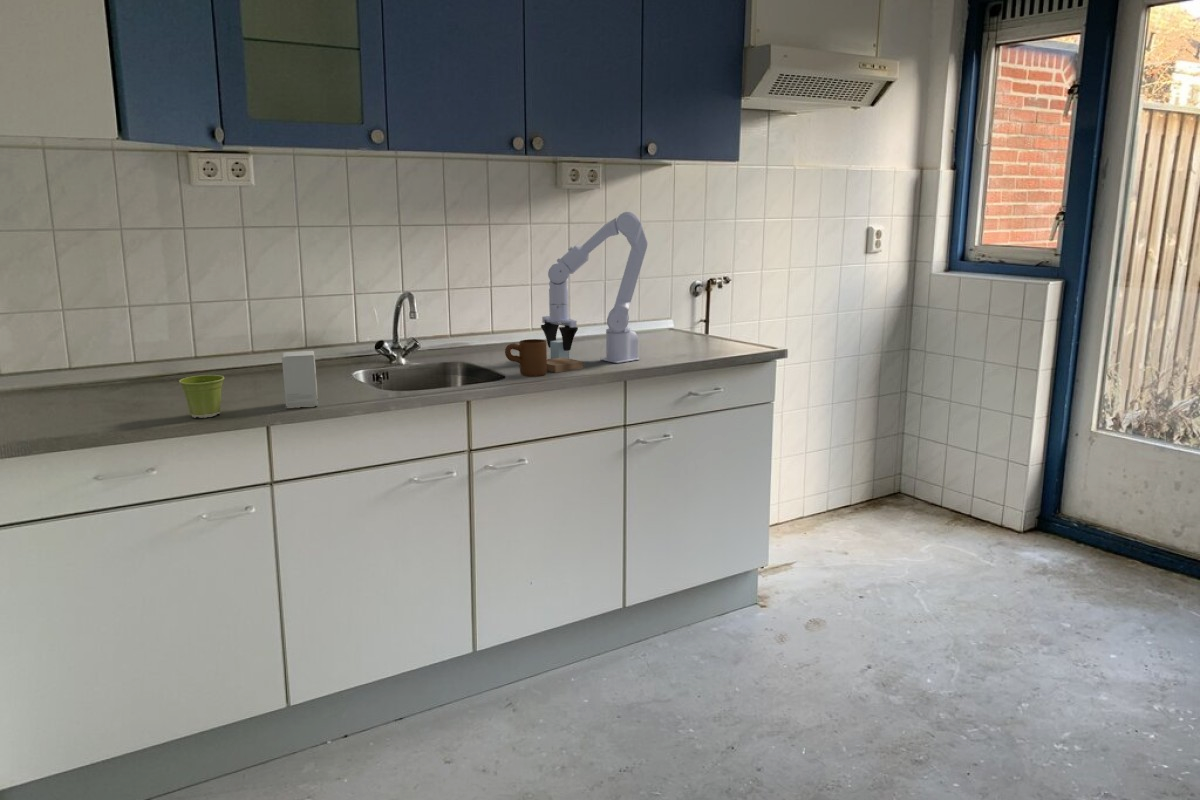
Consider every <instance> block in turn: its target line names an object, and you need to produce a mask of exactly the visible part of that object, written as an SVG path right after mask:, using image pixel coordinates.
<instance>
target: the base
mask: <svg viewBox="0 0 1200 800" xmlns="http://www.w3.org/2000/svg"><path fill="white" fill-rule="evenodd" d="M582 368H583V369H584V361H581V360H578V359H573V358H569V359H568V358H563V357H561V358H554V359H551V358H547V372H550V373H554V372H555V373H554V374H556V373H563V371H564V372H569V370H570V371H576V370H582Z"/></svg>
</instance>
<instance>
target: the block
mask: <svg viewBox="0 0 1200 800" xmlns="http://www.w3.org/2000/svg"><path fill="white" fill-rule="evenodd" d="M549 349H550V359H554V358H561V357H563V358H568V359H570V350H568V351H564V349H563V340H562V339H556V341H550V348H549Z"/></svg>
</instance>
